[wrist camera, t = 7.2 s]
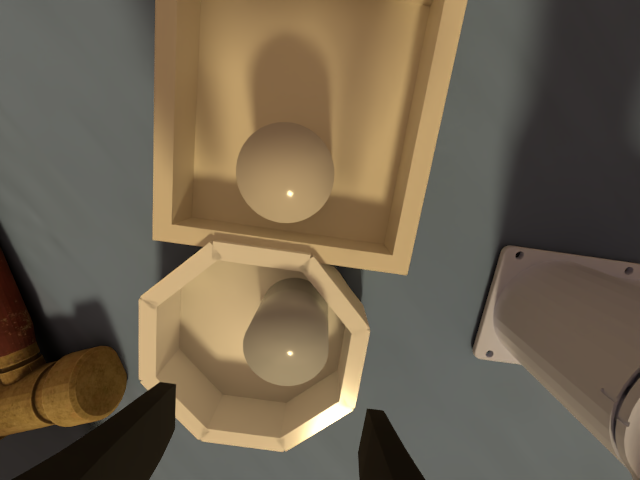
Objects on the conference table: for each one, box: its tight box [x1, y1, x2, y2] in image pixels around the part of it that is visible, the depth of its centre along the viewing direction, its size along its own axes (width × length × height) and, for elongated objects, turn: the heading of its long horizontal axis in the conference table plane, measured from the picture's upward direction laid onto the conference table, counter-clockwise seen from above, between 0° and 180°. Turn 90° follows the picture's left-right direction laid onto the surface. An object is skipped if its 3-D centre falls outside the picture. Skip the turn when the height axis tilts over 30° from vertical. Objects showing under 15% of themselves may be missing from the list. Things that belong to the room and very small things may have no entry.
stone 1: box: [236, 122, 334, 223], centre depth 15 cm, size 4×4×4 cm
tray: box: [153, 0, 467, 275], centre depth 16 cm, size 14×15×3 cm
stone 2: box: [243, 278, 329, 386], centre depth 17 cm, size 4×4×4 cm
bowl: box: [139, 240, 370, 452], centre depth 19 cm, size 13×13×4 cm
